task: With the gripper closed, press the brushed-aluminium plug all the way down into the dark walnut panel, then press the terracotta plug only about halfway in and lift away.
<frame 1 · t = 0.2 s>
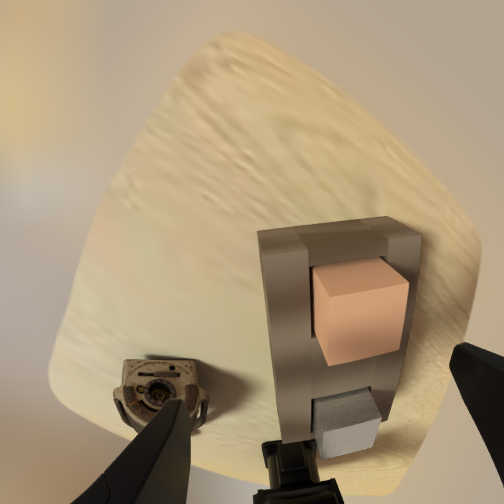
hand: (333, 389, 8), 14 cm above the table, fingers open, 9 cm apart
plug panel: (327, 327, 24), on the table
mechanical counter: (162, 393, 26), on the table
aluminium plug: (342, 418, 20), point 6 cm above the table, slide at 0.0 cm
terracotta plug: (354, 304, 17), point 6 cm above the table, slide at 0.0 cm
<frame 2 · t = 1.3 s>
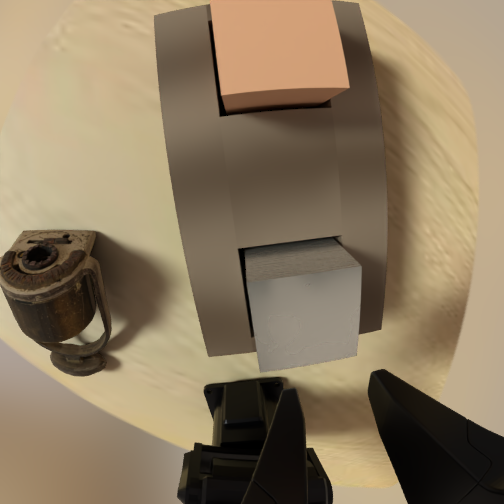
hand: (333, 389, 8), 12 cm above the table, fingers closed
plug panel: (272, 170, 17), on the table
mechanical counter: (70, 295, 20), on the table
aluminium plug: (298, 297, 14), point 6 cm above the table, slide at 0.0 cm
terracotta plug: (271, 53, 10), point 6 cm above the table, slide at 0.0 cm
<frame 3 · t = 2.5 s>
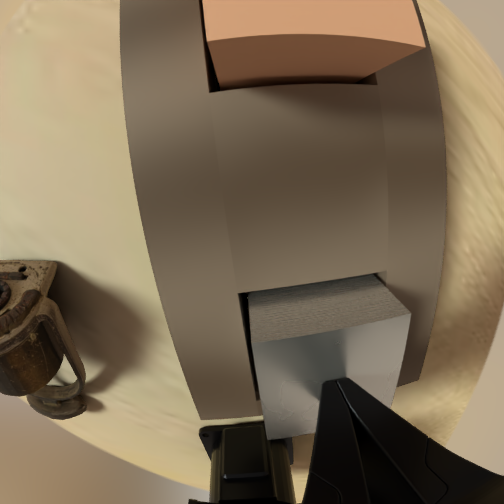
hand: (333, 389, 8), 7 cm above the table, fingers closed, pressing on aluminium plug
plug panel: (284, 174, 13), on the table
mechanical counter: (40, 332, 16), on the table
aluminium plug: (317, 343, 10), point 5 cm above the table, slide at 0.9 cm, touching gripper
terracotta plug: (290, 0, 6), point 6 cm above the table, slide at 0.0 cm
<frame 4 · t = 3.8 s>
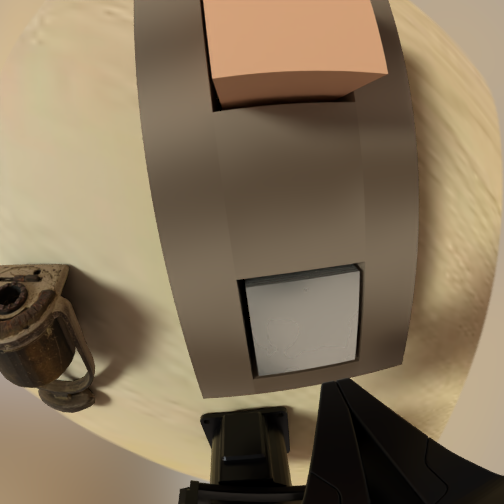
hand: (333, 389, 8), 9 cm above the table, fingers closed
plug panel: (278, 178, 15), on the table
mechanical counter: (52, 330, 17), on the table
aluminium plug: (296, 301, 14), point 3 cm above the table, slide at 3.1 cm
terracotta plug: (280, 31, 7), point 6 cm above the table, slide at 0.0 cm
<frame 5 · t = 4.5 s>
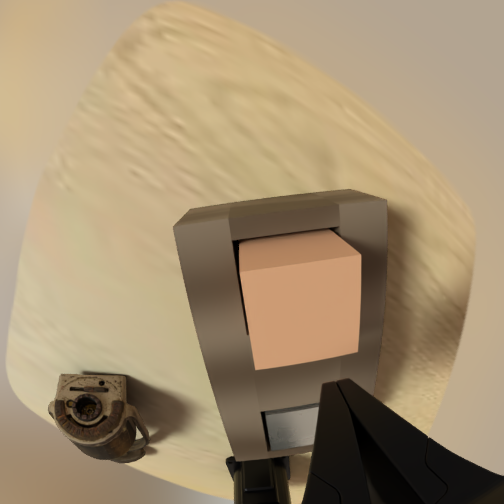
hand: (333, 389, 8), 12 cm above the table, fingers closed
plug panel: (285, 326, 20), on the table
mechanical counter: (109, 409, 23), on the table
aluminium plug: (295, 406, 19), point 3 cm above the table, slide at 3.1 cm
terracotta plug: (295, 291, 13), point 6 cm above the table, slide at 0.0 cm
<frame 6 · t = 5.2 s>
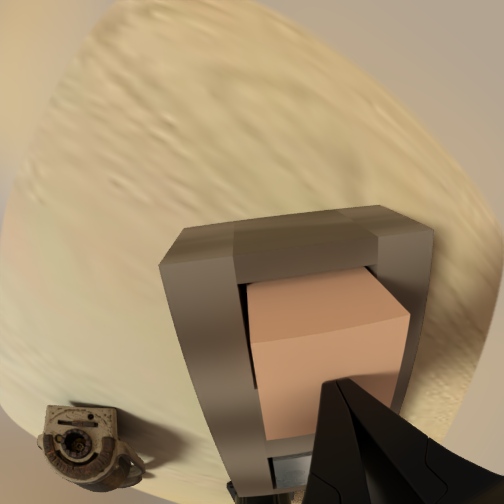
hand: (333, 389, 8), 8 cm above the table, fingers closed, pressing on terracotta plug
plug panel: (296, 360, 17), on the table
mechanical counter: (102, 436, 20), on the table
aluminium plug: (304, 443, 16), point 3 cm above the table, slide at 3.1 cm
terracotta plug: (316, 343, 10), point 6 cm above the table, slide at 0.2 cm, touching gripper
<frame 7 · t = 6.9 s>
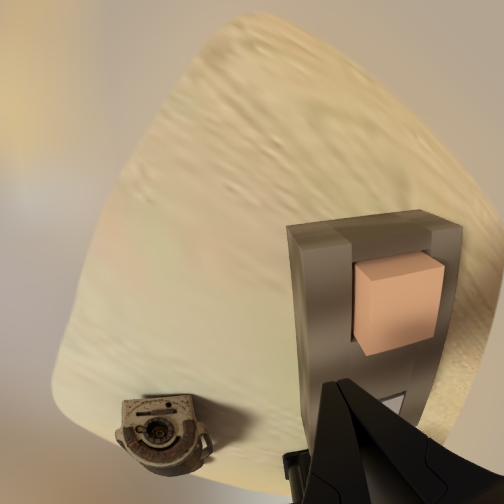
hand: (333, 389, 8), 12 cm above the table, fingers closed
plug panel: (358, 330, 22), on the table
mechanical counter: (169, 426, 25), on the table
aluminium plug: (364, 400, 21), point 3 cm above the table, slide at 3.1 cm
terracotta plug: (387, 292, 16), point 4 cm above the table, slide at 1.4 cm
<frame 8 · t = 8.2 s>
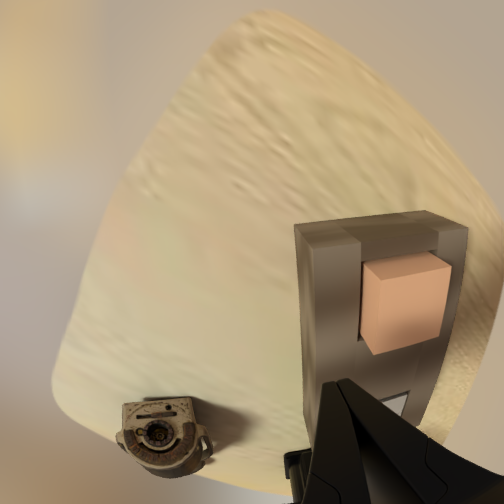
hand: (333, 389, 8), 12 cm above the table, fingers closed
plug panel: (362, 329, 21), on the table
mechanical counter: (169, 428, 25), on the table
aluminium plug: (367, 399, 21), point 3 cm above the table, slide at 3.1 cm
terracotta plug: (394, 292, 16), point 4 cm above the table, slide at 1.4 cm
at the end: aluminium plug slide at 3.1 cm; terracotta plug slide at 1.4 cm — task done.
